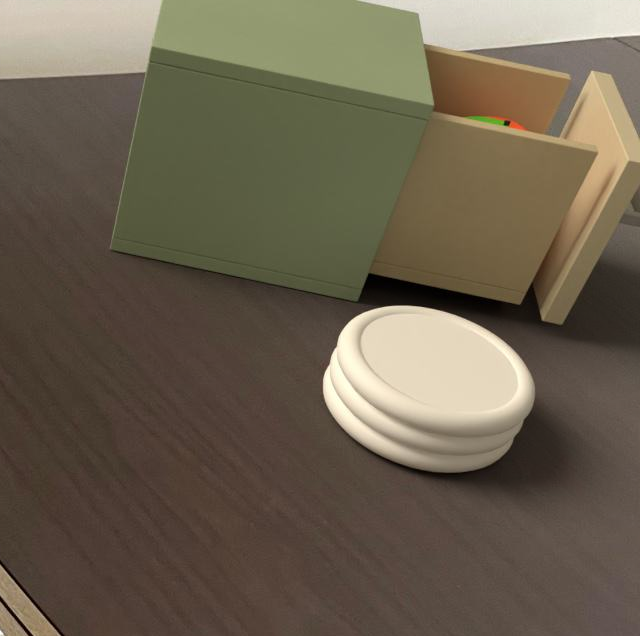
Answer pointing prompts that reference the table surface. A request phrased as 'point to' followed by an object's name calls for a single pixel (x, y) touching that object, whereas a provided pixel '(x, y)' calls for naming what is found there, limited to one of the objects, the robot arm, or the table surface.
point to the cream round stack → (427, 389)
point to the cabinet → (274, 139)
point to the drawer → (512, 184)
